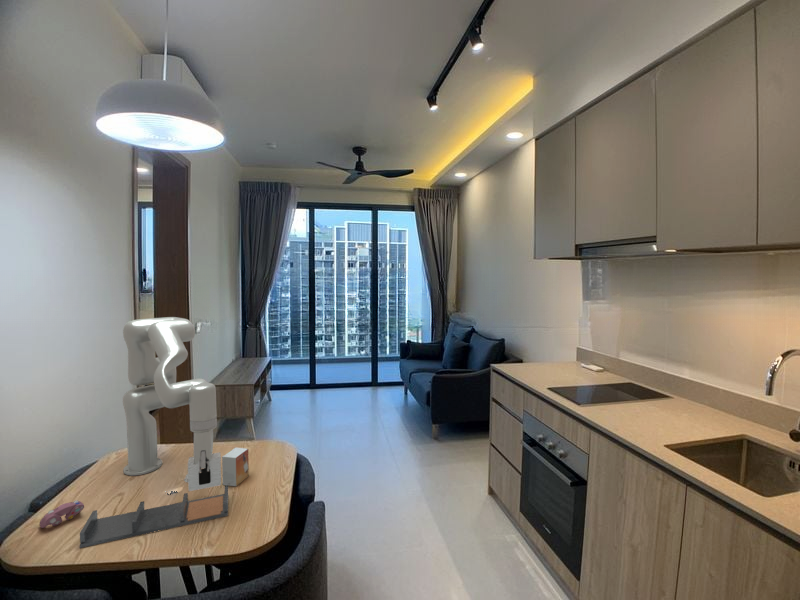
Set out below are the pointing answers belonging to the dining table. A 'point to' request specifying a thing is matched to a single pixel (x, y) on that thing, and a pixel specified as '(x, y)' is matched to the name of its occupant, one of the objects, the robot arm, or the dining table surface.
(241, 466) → the small box
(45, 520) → the video game controller
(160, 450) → the dining table surface
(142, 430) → the robot arm
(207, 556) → the dining table surface
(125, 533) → the slot rack
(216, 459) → the panel
